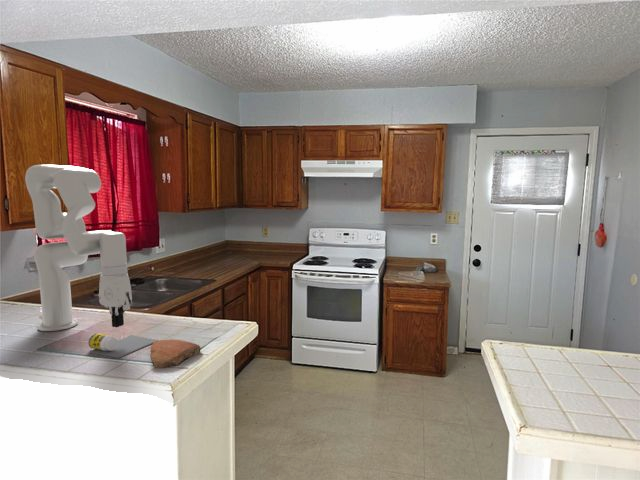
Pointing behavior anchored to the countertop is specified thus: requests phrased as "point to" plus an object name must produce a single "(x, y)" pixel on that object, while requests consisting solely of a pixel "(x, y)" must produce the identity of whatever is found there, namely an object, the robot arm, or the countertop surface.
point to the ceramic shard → (172, 352)
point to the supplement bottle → (102, 342)
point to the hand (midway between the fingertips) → (118, 325)
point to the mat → (126, 346)
